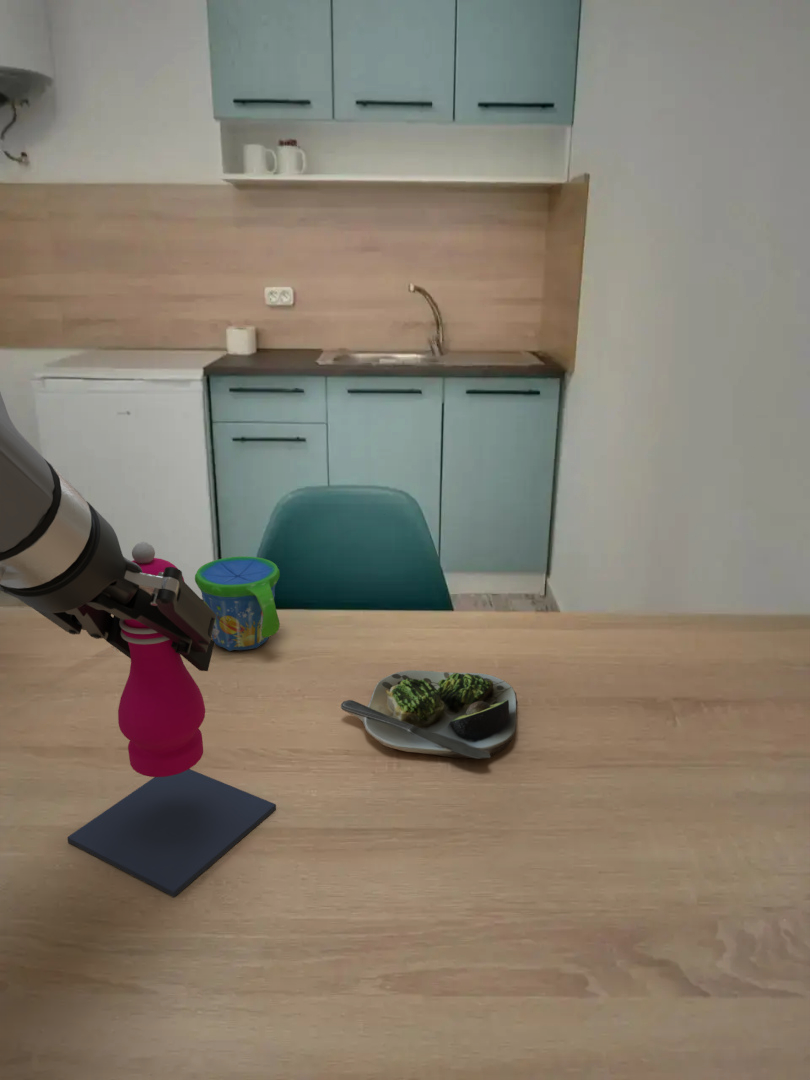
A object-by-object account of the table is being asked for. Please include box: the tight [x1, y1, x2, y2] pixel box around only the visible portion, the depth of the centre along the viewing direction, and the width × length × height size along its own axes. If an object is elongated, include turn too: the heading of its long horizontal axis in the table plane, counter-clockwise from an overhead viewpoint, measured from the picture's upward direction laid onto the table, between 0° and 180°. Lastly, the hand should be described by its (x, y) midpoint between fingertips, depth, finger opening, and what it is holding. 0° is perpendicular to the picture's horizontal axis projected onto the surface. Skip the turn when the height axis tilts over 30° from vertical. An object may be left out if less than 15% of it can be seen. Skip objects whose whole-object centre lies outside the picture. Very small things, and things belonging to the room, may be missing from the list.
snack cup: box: [194, 555, 281, 652], centre depth 109 cm, size 16×10×10 cm
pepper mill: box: [117, 541, 206, 778], centre depth 70 cm, size 7×7×20 cm
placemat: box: [66, 768, 277, 898], centre depth 75 cm, size 13×13×1 cm
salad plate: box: [340, 669, 519, 760], centre depth 91 cm, size 19×18×5 cm
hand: (176, 653), depth 74 cm, fingers closed on pepper mill, 5 cm apart
